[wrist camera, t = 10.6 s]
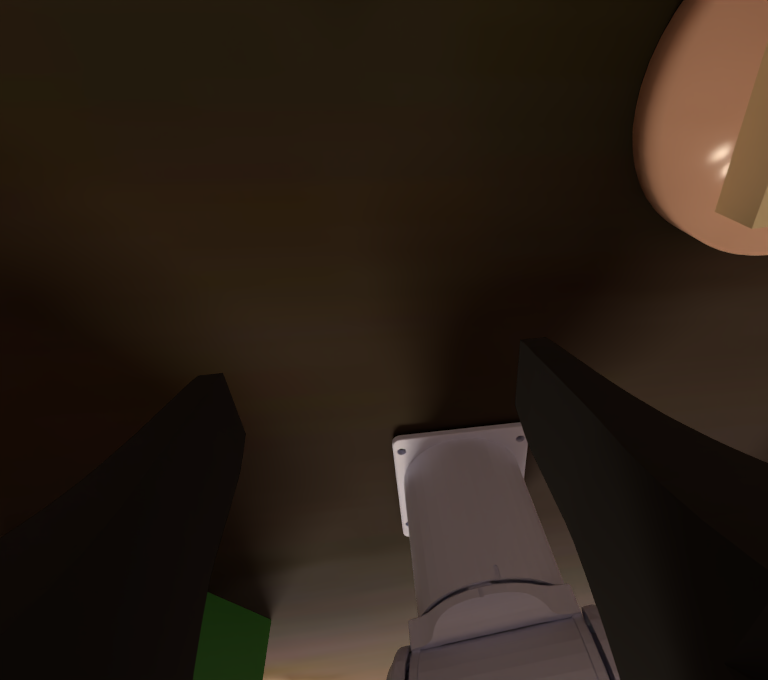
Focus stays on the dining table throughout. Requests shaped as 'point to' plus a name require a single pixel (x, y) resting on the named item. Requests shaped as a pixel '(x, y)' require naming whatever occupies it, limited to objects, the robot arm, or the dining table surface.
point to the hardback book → (231, 642)
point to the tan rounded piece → (708, 124)
